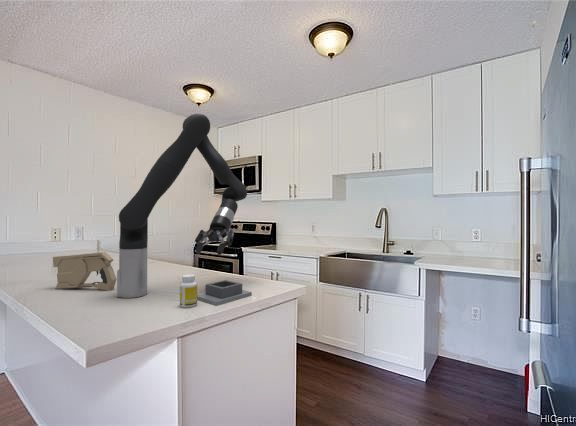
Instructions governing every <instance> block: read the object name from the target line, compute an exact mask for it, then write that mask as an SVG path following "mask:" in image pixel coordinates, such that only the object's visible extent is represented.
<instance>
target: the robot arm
mask: <svg viewBox="0 0 576 426" xmlns="http://www.w3.org/2000/svg"><path fill="white" fill-rule="evenodd" d="M210 131H211V122H210V120H209V118H208V117H207V116H206V115H205V114H203V113H194V114H190V115H189V116H188V117H186V118H185V119H184V120H183V122H182V130H181V132H180V134H179V135H178V137H177V139H175V140H174V142H172V143H171V144H170V146H169V147H168V148H166V149H165V150H164V152H163V153H162V154H161V155H160V156H159V158H157V160H156V161H155V163H154V164H153V165H152V167H151V169H150V170H149V171H148V173H147V174H146V177H145V178H144V181H142V182H143V183H142V184H141V186H140V188H139V189H138V190H137V192H136V193H135V194H134V196H133V197H132V198H131V199H130V200H129V201H128V202H127V203H126V204H125V205H124V207H122V209H120V211H119V214H118V221H119V224H120V225H119V243H118V245H119V248H118V249H119V250H118V252H119V254H118V255H119V260H118V261H119V264H118V265H119V266H118V267H119V269H118V270H117V271H116V297H117V298H125V299H130V298H131V299H133V298H139V297H144V296H146V295H147V294H148V239H149V237H148V235H149V234H148V233H149V230H148V229H149V228H148V227H149V223H148V221H149V220H148V219H149V216H150V215H151V212H152V211H153V209H154V208H155V206H156V204H157V202H158V201H159V200H160V199H161V198H162V196H164V194H166V193H167V191H168V190H169V189H170V188H171V186H172V185H173V184H174V183H175V181H176V179H178V177H179V175H180V174H181V172H182V171H183V169H184V168H185V166H186V164H187V163H188V162H189V159H190V157H192V154H193V152H194V151H195V149H197V150H198V152H199V153H200V154H201V156H202V157H203V158H204V160H205V161H206V163H207V165H208V166H209V168H210V170H211V171H212V174H214V176H215V178H216V179H217V181H218V183H219V184H220V185H227V186H228V187H226V188H225V189H224V190H223V192H222V195H221V202H220V203H221V204H220V205H219V208H218V209H217V211H216V212H215V214H214V216H213V218H212V220H211V222H210V224H209V229H207V231H205V230H204V229H201V230H200V231H199V233H198V234H197V236H196V238H195V240H194V242H195V244H196V245H197V246H196V248H195V250H194V251H195V253H196V254H197V255H201V253H202V250H203V249H204V246H206V245H209V244H210V243H219V242H220V243H219V244H218V247H217V250H216V254H217V255H218V256H221V255H222V254H223V253H224V250H225V248H226V247H231V245H233V244H232V243H233V239H234V238H235V234H234V232H233V230H232V229H230V228H231V226H232V224H233V222H234V219H235V215H236V214H237V211H238V203H237V202H239V201H242V200H245V199H246V198H247V196H248V190H247V188H246V186H245V185H244V183H242V181H241V180H240V179H239V178H238V177H237V176H236V175H234V173H233V171H232V170H231V169H232V168H230V166H229V164H228V163H227V161H226V160H225V158H224V157H223V156H222V155H221V153H219V151H218V150H217V149H216V148H215V146H214V145H213V144H212V142H211V140H210V139H209V137H208V135H209V133H210ZM225 238H226V239H225Z"/></svg>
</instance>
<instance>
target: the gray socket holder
mask: <svg viewBox="0 0 576 426" xmlns="http://www.w3.org/2000/svg"><path fill="white" fill-rule="evenodd" d="M251 296H253V294H252V291H249V290H245V289H243V283H241V282H237V281H232V280H231V281H230V280H227V279H225V280H219V281H216V282H211V283H210V282H209V283H207V284H205V292H204V293H200V294H197V301H200V302H203V303H206V304H209V305H212V306H221V305H224V304H227V303H230V302H231V303H232V302H234V301H236V300H237V301H238V300H240V299H245V298H247V297H251Z"/></svg>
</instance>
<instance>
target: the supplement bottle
mask: <svg viewBox="0 0 576 426" xmlns="http://www.w3.org/2000/svg"><path fill="white" fill-rule="evenodd" d="M181 279H182V282H180V284H179V306H180V307H181V308H184V309H185V308H186V309H187V308H193V307H196V306H197V305H198V300H197V295H198V283H197V281H195V280H196V274H193V273H192V274H183V275H181Z"/></svg>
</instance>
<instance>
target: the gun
mask: <svg viewBox="0 0 576 426" xmlns="http://www.w3.org/2000/svg"><path fill="white" fill-rule="evenodd" d="M113 261H114V258H113V257H112V256H111V255H110V254H109V253H107V252H106V251H102V252H101V251H100V252H90V253H82V254H71V255H70V254H68V255H67V254H66V255H59V256H58V255H57V256H52V265H53V266H52V267H53V268H56V269H57V273H56V278H57V279H56V281H57V283H56V285H55V288H54V289H55V290H70V289H80V288H96V289H99V290H103V291H107V292H109V291H112V290H114V289H115V285H116V284H117V275H116V273H115V271H114V268H113V265H111V263H112V262H113ZM92 272H95V273H96V277H97V276H98V275H99V274H100V279H101V280H102V281H95V282H86V281H87V280H88V278H89V277H90V275H91V274H92Z"/></svg>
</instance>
